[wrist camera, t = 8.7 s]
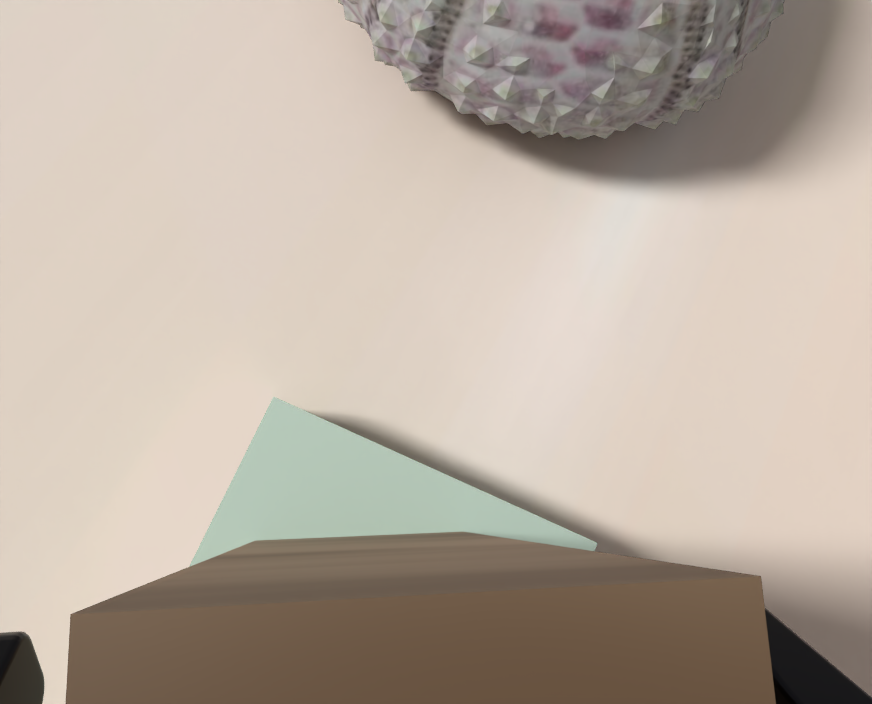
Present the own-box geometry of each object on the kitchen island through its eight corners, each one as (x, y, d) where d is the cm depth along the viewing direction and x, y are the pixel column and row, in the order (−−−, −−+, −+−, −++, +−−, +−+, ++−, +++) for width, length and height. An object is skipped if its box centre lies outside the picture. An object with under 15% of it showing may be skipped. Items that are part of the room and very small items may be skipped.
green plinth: (570, 539, 19) (597, 543, 17) (445, 873, 17) (460, 919, 15) (279, 408, 19) (273, 396, 17) (119, 733, 17) (92, 762, 15)
